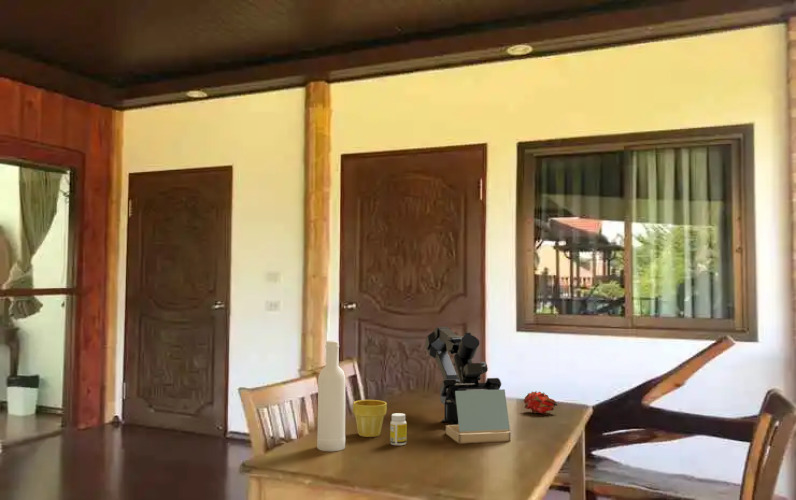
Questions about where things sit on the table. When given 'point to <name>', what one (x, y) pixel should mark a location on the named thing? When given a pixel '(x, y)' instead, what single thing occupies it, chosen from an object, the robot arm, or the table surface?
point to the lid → (482, 411)
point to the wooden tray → (476, 436)
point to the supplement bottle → (398, 429)
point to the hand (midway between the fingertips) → (477, 409)
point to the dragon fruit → (539, 402)
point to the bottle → (331, 402)
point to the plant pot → (369, 416)
